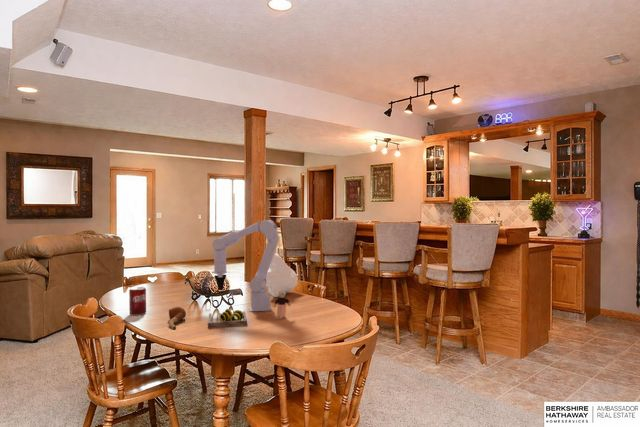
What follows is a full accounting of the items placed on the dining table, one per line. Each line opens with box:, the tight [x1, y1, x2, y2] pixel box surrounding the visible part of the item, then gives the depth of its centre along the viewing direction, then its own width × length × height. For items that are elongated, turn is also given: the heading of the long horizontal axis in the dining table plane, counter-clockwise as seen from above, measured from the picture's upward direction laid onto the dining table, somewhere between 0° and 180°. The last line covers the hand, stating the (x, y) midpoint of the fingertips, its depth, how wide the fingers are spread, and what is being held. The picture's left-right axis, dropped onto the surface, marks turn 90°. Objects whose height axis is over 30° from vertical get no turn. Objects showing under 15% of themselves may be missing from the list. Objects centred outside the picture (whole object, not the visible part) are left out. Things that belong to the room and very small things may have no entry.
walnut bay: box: [207, 311, 248, 329], centre depth 184 cm, size 16×16×2 cm
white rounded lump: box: [266, 252, 298, 298], centre depth 241 cm, size 25×16×25 cm
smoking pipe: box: [168, 306, 187, 330], centre depth 182 cm, size 7×18×6 cm, turn 19°
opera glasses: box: [219, 308, 244, 322], centre depth 185 cm, size 10×5×5 cm, turn 66°
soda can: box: [128, 286, 147, 316], centre depth 199 cm, size 7×7×12 cm
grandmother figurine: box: [272, 290, 291, 320], centre depth 189 cm, size 8×4×13 cm, turn 118°
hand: (220, 289), depth 207 cm, fingers closed
